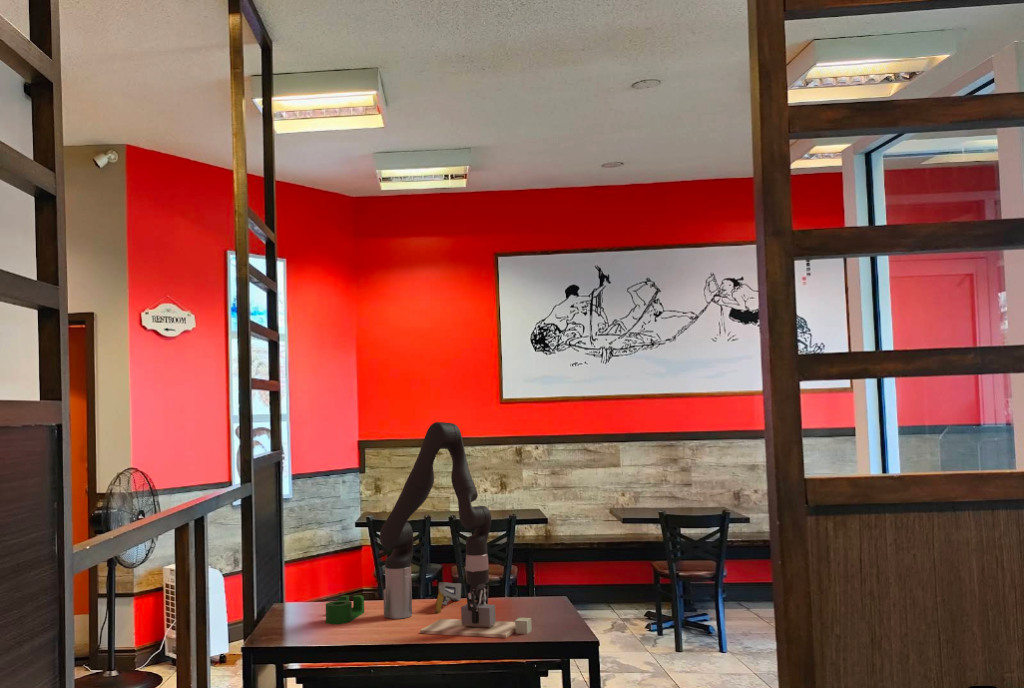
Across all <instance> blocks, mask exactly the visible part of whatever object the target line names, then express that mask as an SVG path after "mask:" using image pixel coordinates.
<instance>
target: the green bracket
mask: <svg viewBox="0 0 1024 688" xmlns="http://www.w3.org/2000/svg"><path fill="white" fill-rule="evenodd" d="M352 603H353V605H352ZM364 613H365V597H364V596H363V595H362V594H357V595H354V596H353V597H352V601H351V600H350V595H341V596H340V597H338V599H337V600H333V601H328V602H326V603H325V624H327V625H344V624H347V623H351V622H352V621H354V620H355V619H357V618H358V617H360V616H361V615H363V614H364Z"/></svg>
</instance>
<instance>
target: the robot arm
mask: <svg viewBox="0 0 1024 688" xmlns="http://www.w3.org/2000/svg"><path fill="white" fill-rule="evenodd" d="M421 444H422V445H421V447H420V449H419V450H420V451H419V453H418V456H416V457H417V458H416V459H415V462H414V464H413V467H412V468H411V471H410V473H409V475H408V476H407V480H406V482H404V485H403V487H402V490H401V492H400V494H399V496H398V498H397V500H396V502H395V504H394V507H393V508H392V510H391V512H390V513H389V515H388V517H387V518H386V520H385V522H384V523H383V525H382V527H381V529H380V531H379V532H380V533H379V542H380V545H381V546H382V547H383V548H385V549H388V550H391V549H393V550H392V552H391V554H390V555H389V556H388V557H387V558H386V559H385V561H384V568H385V569H384V570H385V572H384V573H385V575H384V576H385V588H384V589H383V591H382V592H383V593H382V594H383V596H382V597H383V617H384V618H387V619H394V620H395V619H397V620H398V619H405V618H406V619H407V618H411V617H413V596H412V594H413V592H412V560H413V555H414V531H413V528H412V525H411V523H409V522H408V520H409V519H410V518H411V516H412V515H413V514H414V513H415V512H416V511H417V510H418V509H419V508H420V507H421V506H422V504H424V503H425V501H426V500H427V499H428V497H429V494H430V493H431V490H432V489H433V486H434V483H435V474H434V462H435V459H436V458H437V455H438V453H439V451H440V450H447V451H448V453H449V455H450V457H451V461H452V468H451V476H450V478H451V484H452V488H453V490H454V494H455V496H456V499H457V504H458V505H457V506H458V517H459V521H460V522H459V523H460V524H461V525H462V527H464V528H465V529H467V530H473V529H474V532H473V534H472V535H469V536H468V537H466V539H465V581H466V584H468V585H470V590H469V592H466V595H465V596H466V604H468V611H472V623H473V624H477V623H479V612H478V611H479V605H480V604H489V591H490V586H489V585H486V584H487V583H489V582H490V574H489V555H488V539H489V535H490V529H491V525H492V513H491V510H490V508H488V507H487V506H484V505H478V506H472V502H475V501H476V500H477V498H478V497H479V494H478V491H477V487H476V485H475V483H474V480H473V478H472V475H471V474H472V473H471V472H470V468H469V464H468V460H467V455H466V450H465V446H464V445H465V444H464V441H463V436H462V431H461V430H460V428H459V426H458V425H457V424H455V423H452V422H445V421H444V422H441V421H436V422H433V423H431V424H430V426H429V427H428V429H427V431H426V432H425V436H424V438H423V442H422V443H421ZM470 604H471V605H470Z"/></svg>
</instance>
